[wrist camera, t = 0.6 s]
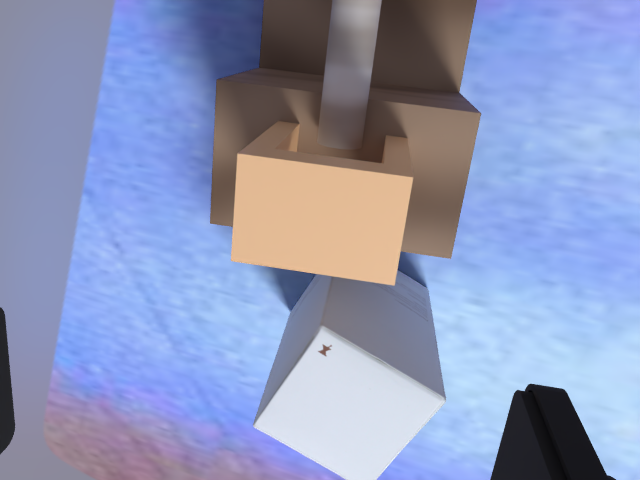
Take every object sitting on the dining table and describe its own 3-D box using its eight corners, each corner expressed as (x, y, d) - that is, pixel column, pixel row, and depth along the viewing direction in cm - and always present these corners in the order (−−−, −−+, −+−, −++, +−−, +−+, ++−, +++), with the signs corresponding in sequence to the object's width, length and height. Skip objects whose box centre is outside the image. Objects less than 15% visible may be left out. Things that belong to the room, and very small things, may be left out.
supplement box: (287, 313, 41) (245, 426, 30) (342, 232, 39) (321, 321, 27) (373, 365, 42) (365, 496, 30) (433, 289, 39) (450, 401, 28)
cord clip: (278, 120, 27) (237, 153, 20) (407, 137, 26) (412, 177, 19) (271, 203, 28) (231, 260, 21) (394, 220, 28) (394, 285, 21)
